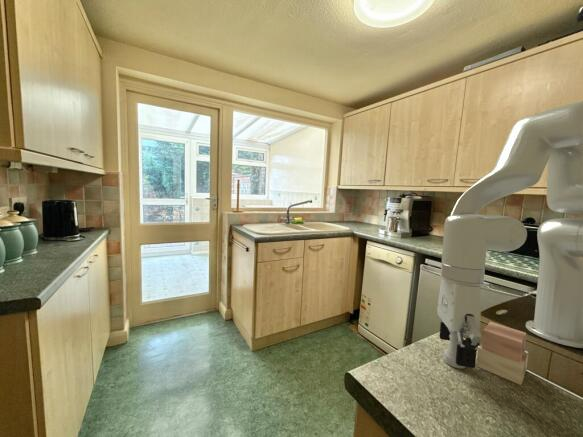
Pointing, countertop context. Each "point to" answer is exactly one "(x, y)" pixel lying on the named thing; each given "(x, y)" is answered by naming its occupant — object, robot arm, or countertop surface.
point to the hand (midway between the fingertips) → (455, 351)
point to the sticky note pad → (503, 352)
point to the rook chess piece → (452, 350)
